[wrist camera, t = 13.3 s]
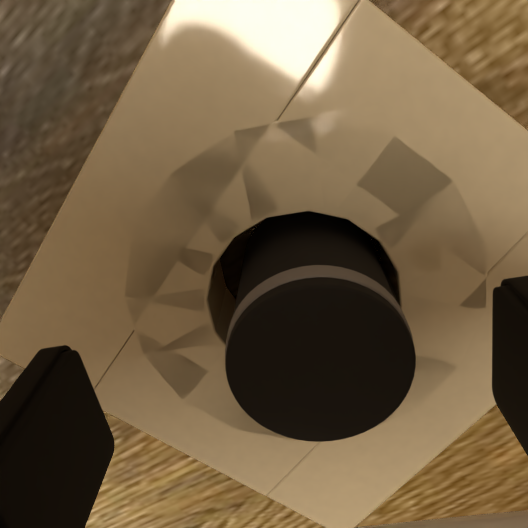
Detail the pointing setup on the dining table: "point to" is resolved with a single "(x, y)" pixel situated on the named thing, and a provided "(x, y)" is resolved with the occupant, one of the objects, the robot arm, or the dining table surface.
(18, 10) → the dining table surface
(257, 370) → the stopper
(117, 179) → the sink floor
